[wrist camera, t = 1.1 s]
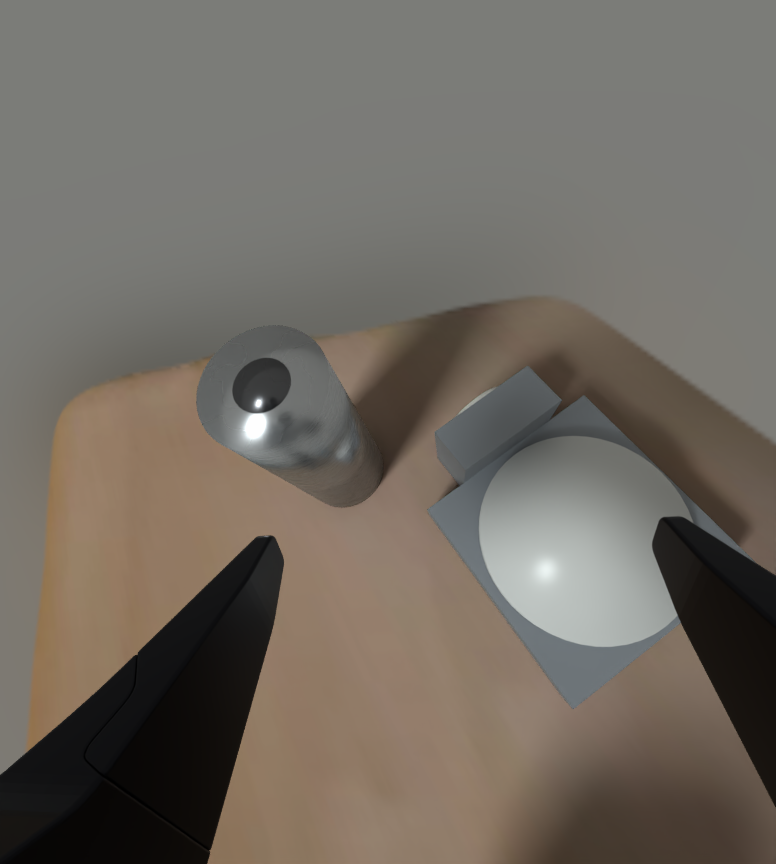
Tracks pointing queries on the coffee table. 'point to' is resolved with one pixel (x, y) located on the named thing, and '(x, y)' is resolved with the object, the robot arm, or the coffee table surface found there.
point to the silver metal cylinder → (289, 415)
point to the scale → (561, 529)
